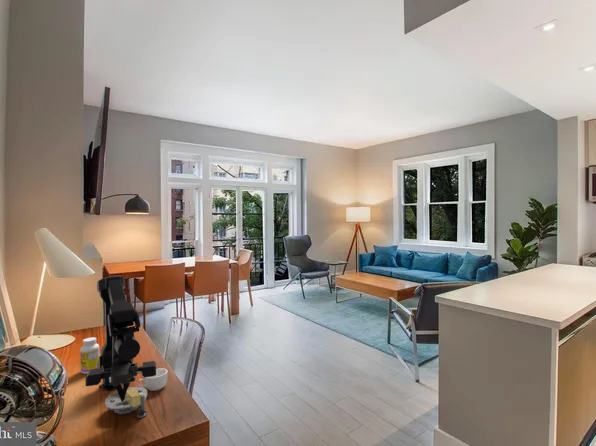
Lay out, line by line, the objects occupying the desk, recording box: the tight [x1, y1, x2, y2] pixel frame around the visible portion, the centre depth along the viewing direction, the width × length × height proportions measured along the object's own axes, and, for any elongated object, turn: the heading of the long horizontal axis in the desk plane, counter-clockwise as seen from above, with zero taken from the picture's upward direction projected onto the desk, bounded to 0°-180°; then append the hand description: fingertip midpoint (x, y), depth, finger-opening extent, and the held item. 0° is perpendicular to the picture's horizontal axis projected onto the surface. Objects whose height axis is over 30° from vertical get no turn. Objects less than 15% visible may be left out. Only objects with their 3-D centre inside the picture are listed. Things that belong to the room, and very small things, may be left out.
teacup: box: [136, 367, 169, 392], centre depth 121 cm, size 10×8×5 cm
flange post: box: [113, 405, 139, 416], centre depth 108 cm, size 7×7×2 cm
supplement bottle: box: [79, 336, 100, 375], centre depth 137 cm, size 7×7×13 cm
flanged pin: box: [136, 395, 148, 419], centre depth 104 cm, size 3×3×6 cm
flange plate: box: [104, 386, 148, 411], centre depth 107 cm, size 14×12×4 cm
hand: (122, 401), depth 103 cm, fingers closed
